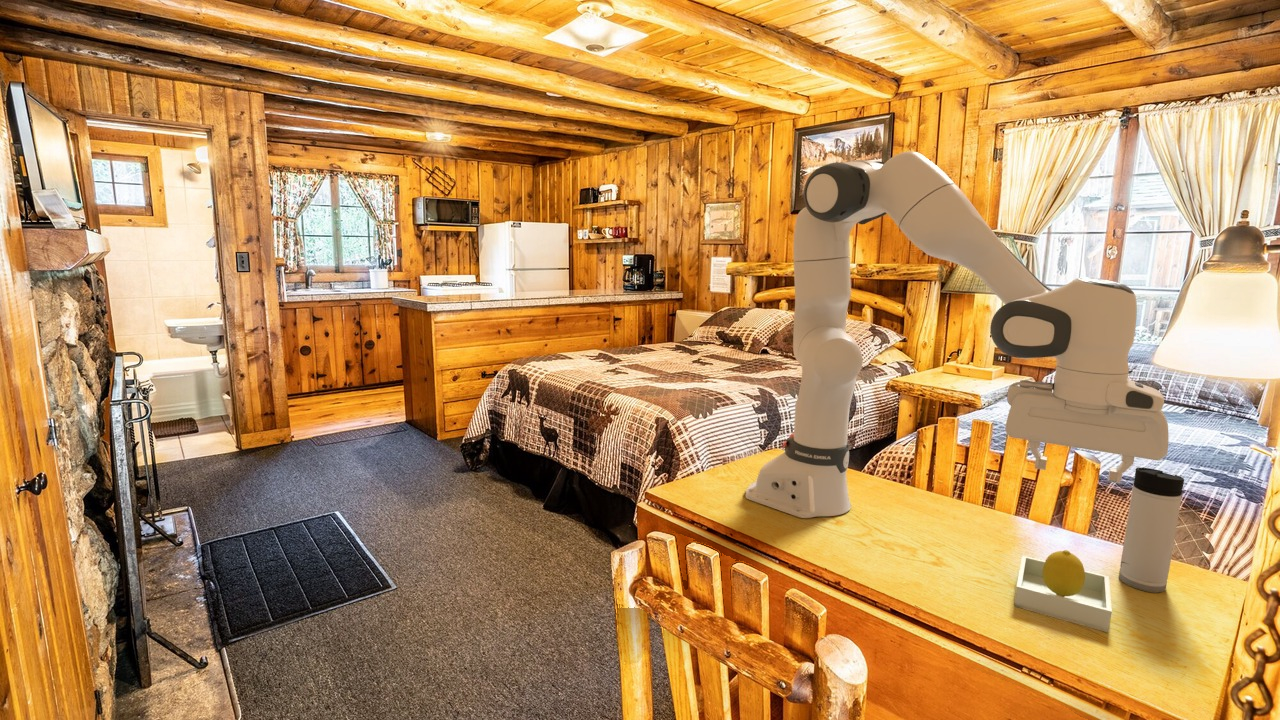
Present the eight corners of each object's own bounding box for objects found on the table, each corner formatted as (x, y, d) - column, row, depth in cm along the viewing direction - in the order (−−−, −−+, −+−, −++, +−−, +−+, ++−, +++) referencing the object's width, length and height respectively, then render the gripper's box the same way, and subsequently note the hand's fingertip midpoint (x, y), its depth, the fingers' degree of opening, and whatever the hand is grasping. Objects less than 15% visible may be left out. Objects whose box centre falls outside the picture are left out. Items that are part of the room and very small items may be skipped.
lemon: (1088, 608, 97) (1095, 561, 96) (1048, 604, 99) (1054, 557, 97) (1071, 589, 103) (1078, 544, 101) (1034, 586, 104) (1040, 541, 102)
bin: (1014, 606, 99) (1016, 586, 99) (1020, 573, 109) (1022, 555, 108) (1108, 632, 93) (1111, 611, 92) (1105, 595, 102) (1108, 576, 102)
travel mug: (1109, 578, 107) (1126, 466, 104) (1132, 570, 110) (1149, 461, 106) (1150, 597, 102) (1170, 479, 98) (1174, 588, 105) (1194, 473, 101)
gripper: (1007, 381, 98) (997, 466, 101) (1178, 401, 87) (1161, 496, 89) (1011, 375, 103) (1001, 455, 106) (1173, 393, 92) (1157, 483, 94)
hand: (1076, 474), depth 97 cm, fingers open, 8 cm apart
